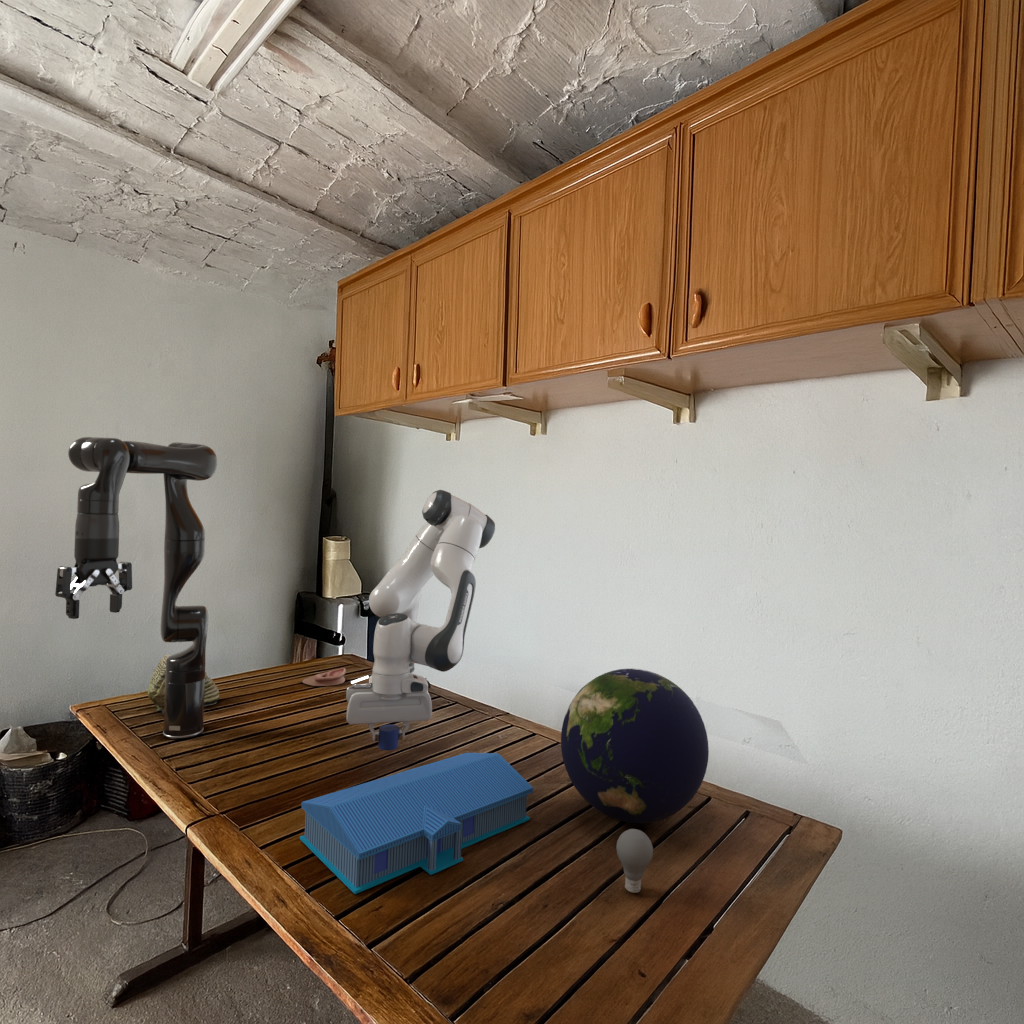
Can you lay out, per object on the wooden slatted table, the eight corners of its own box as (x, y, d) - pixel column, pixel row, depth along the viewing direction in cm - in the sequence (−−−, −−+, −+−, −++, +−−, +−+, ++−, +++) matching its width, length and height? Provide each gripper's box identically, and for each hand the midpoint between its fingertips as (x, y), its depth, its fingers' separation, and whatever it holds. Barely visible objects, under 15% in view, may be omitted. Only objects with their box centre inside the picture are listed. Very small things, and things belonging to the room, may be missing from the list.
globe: (537, 831, 123) (544, 678, 123) (580, 772, 151) (585, 647, 150) (696, 871, 112) (704, 703, 111) (710, 800, 140) (717, 665, 139)
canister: (385, 752, 149) (386, 732, 149) (374, 746, 152) (375, 727, 152) (402, 747, 152) (402, 728, 152) (390, 741, 156) (391, 722, 156)
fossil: (144, 707, 182) (145, 655, 182) (212, 696, 194) (213, 647, 194) (151, 716, 175) (153, 662, 175) (221, 703, 188) (223, 653, 188)
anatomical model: (297, 672, 210) (315, 663, 221) (297, 684, 210) (314, 675, 221) (334, 676, 207) (350, 667, 219) (333, 688, 208) (349, 679, 219)
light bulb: (610, 879, 108) (613, 822, 108) (644, 879, 109) (647, 822, 109) (619, 902, 102) (622, 840, 102) (655, 901, 103) (658, 840, 103)
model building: (364, 904, 99) (367, 841, 99) (298, 838, 117) (300, 784, 117) (541, 825, 125) (544, 775, 125) (465, 781, 144) (467, 737, 143)
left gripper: (74, 538, 121) (71, 623, 121) (142, 535, 134) (139, 612, 134) (48, 535, 123) (45, 618, 124) (117, 533, 137) (115, 608, 137)
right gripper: (346, 688, 146) (344, 747, 146) (434, 684, 152) (432, 741, 152) (345, 680, 152) (343, 737, 153) (430, 677, 158) (428, 732, 158)
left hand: (94, 615), depth 129 cm, fingers open, 8 cm apart
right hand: (388, 739), depth 152 cm, fingers closed on canister, 5 cm apart
